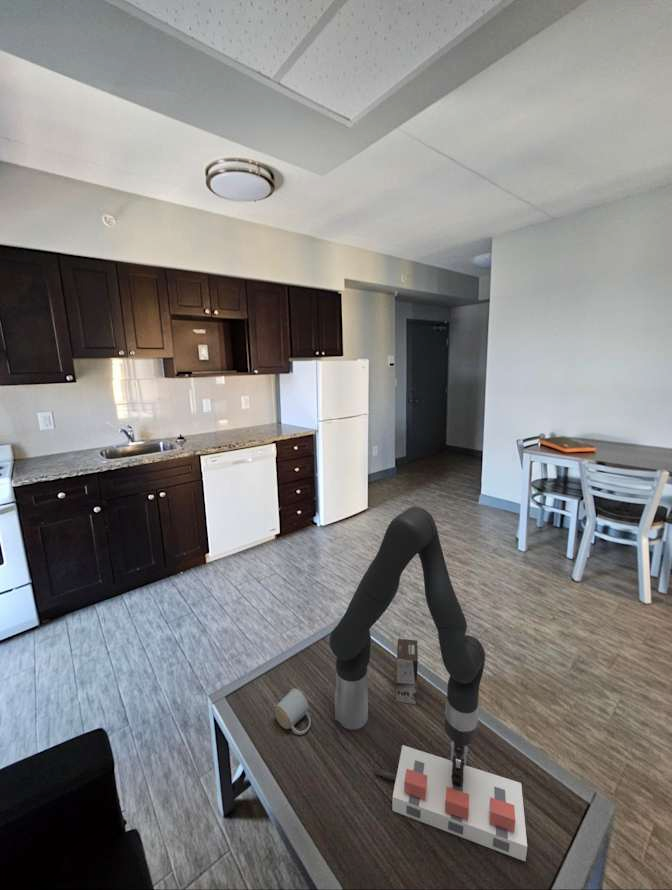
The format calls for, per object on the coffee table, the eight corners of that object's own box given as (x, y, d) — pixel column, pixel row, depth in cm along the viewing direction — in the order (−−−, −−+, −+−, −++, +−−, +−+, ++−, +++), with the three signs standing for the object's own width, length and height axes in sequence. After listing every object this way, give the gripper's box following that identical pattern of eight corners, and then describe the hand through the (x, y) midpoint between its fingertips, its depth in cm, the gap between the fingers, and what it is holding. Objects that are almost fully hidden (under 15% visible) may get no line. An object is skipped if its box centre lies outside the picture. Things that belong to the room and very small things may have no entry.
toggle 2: (444, 811, 88) (445, 800, 87) (445, 797, 90) (446, 786, 89) (467, 820, 86) (468, 808, 85) (468, 805, 89) (469, 794, 88)
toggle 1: (404, 792, 92) (404, 781, 91) (406, 779, 94) (406, 768, 94) (425, 799, 90) (425, 788, 89) (426, 786, 93) (427, 775, 92)
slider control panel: (368, 802, 94) (367, 787, 93) (380, 750, 106) (380, 737, 105) (525, 862, 82) (527, 846, 81) (519, 797, 94) (521, 782, 93)
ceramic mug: (273, 721, 116) (271, 701, 114) (293, 702, 122) (292, 682, 120) (297, 744, 109) (296, 722, 107) (317, 722, 115) (316, 702, 113)
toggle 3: (489, 823, 85) (490, 811, 84) (489, 808, 88) (490, 796, 87) (514, 832, 84) (515, 820, 83) (512, 816, 86) (514, 805, 85)
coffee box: (416, 704, 120) (417, 661, 116) (395, 701, 121) (396, 658, 117) (416, 680, 128) (417, 639, 124) (397, 677, 130) (397, 637, 126)
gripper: (447, 687, 100) (445, 736, 104) (442, 737, 87) (439, 791, 91) (478, 695, 97) (474, 745, 101) (477, 748, 84) (472, 803, 88)
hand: (457, 767), depth 96 cm, fingers open, 8 cm apart
